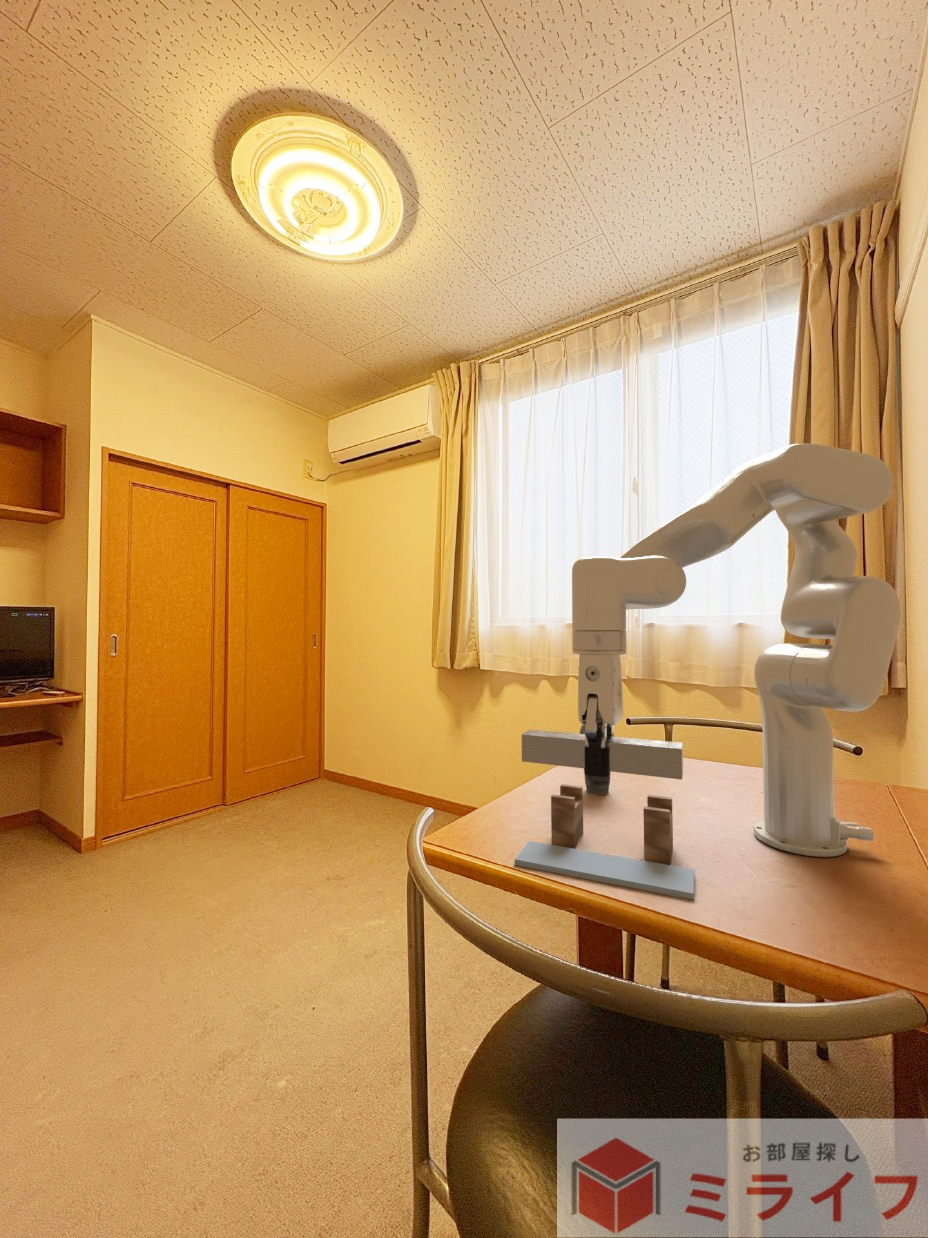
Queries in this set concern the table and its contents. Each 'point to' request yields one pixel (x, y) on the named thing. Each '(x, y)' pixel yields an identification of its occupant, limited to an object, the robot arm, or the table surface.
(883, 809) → the table surface
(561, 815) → the post far
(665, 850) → the post near
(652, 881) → the grey board
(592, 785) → the beverage cup
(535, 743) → the rail
